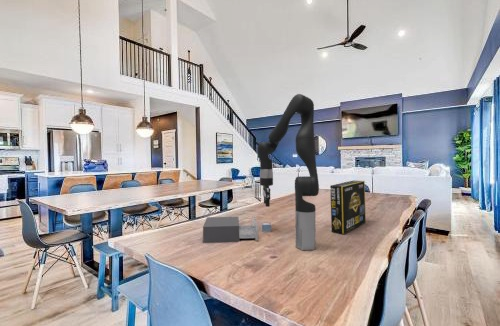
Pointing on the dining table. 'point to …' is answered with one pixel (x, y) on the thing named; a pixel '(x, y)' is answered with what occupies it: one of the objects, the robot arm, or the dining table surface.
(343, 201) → the box
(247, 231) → the tray
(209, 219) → the housing
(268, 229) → the cartridge
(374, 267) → the dining table surface
